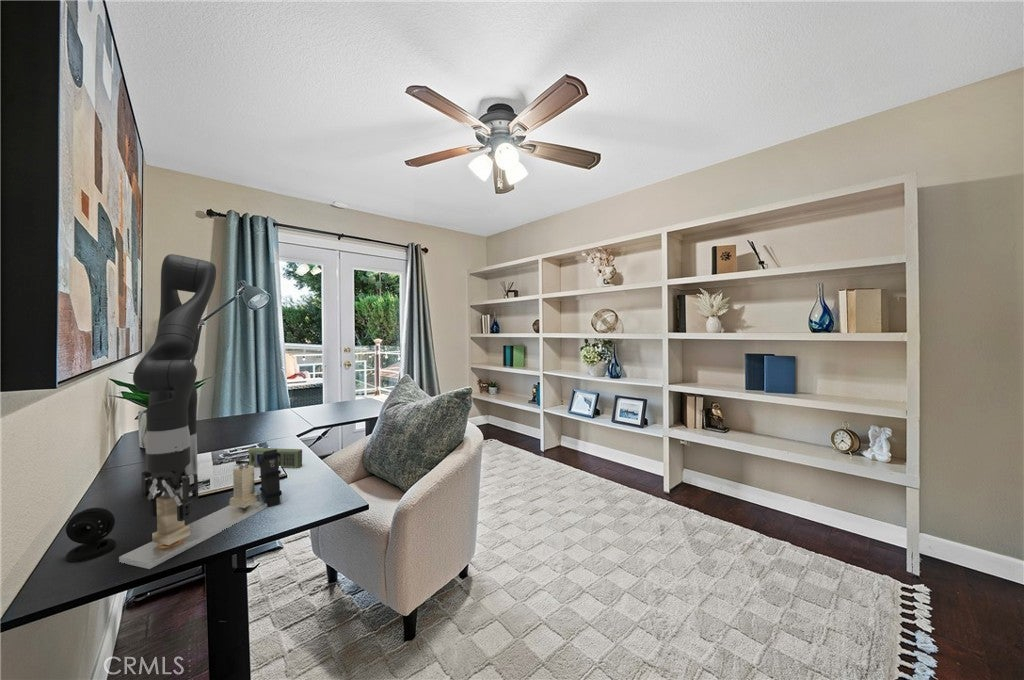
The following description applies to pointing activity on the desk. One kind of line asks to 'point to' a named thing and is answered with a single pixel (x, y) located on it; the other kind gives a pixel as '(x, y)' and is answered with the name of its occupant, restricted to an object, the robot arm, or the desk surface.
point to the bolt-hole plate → (204, 523)
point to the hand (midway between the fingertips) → (170, 517)
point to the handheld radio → (285, 458)
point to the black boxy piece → (270, 477)
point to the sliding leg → (169, 522)
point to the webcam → (90, 533)
